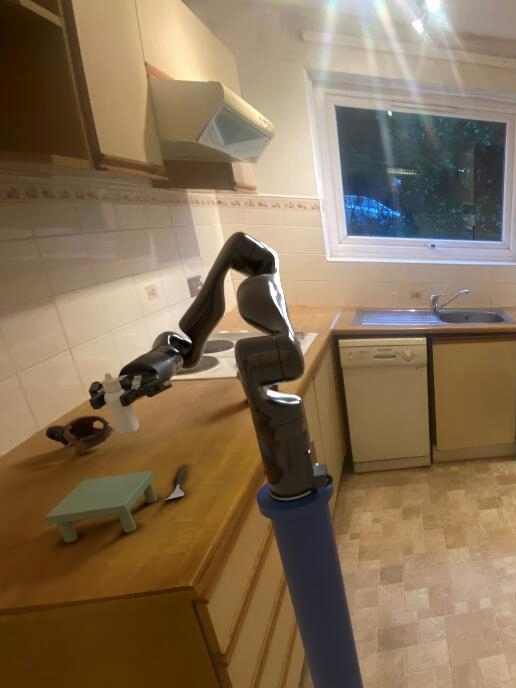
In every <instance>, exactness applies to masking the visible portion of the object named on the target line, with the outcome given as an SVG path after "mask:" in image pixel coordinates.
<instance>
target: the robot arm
mask: <svg viewBox="0 0 516 688" xmlns="http://www.w3.org/2000/svg"><path fill="white" fill-rule="evenodd" d="M230 270H232V271H235V273H236V272H237V273H238V274H240V275H242V276H244V277H246V278H244V280H242V282H240V284H239V285H238V286H237V290H236V302H237V309H238V313H239V315H240V317H241V319H242V320H243V321H244V322H245V323H246V324H247V325H248V326H250V327H251V328H253V329H254V330H256V331H258V332H260V333H261V334H264V335H259V336H249V337H243V338H239V339H237V340H236V342H235V344H234V358H235V363H236V367H237V370H239V373H240V376H241V379H242V382H243V385H244V389H245V392H246V395H247V397H246V400H247V399H248V400H247V403H248V407H249V410H250V416H251V420H252V425H253V429H254V433H255V436H256V441H257V445H258V449H259V453H260V456H261V460H262V464H263V468H264V470H263V475H264V477H266V480H267V481H266V482H267V483H268V485H269V490H270V495H271V497H272V499H274V500H276V501H279V502H292V501H297V500H300V499H303V498H305V497H307V496H309V495H311V494H315V493H318V488H319V487H325V488H326V487H327V486H329V485H330V484H331V483H332V482H333V483H334V477H333V475H331V474H329V472H328V467H327V464H319V462H318V458H317V453H316V447H315V442H314V439H311V435H310V430H309V423H308V419H307V414H306V408H305V403H304V400H303V399H302V397H300V396H298V395H297V394H293V393H289V392H288V393H287V392H281V391H279V392H276V391H273V390H270V389H268V388H266V387H264V386H270V385H276V384H278V385H281V384H287V383H292V382H295V381H298V380H301V378H303V376H304V374H305V369H306V364H305V358H304V353H303V350H302V347H301V345H300V342H299V340H298V336H297V334H296V332H295V329H294V327H293V325H292V321H291V317H290V313H289V308H288V303H287V300H286V296H285V293H284V290H283V286H282V283H281V278H280V265H279V257H278V255H277V252H276V251H274V249H272V248H271V247H270V246H268V245H267V244H265V243H263V242H261V241H260V240H258V239H257V238H255V237H253V236H251V235H249V234H247V233H246V232H244V231H242V230H241V231H236V232H234V233H233V234H231V235H230V236H229V237H228V238H227V240H226V241H225V242H224V244H223V245H222V247H221V249H220V251H219V253H218V255H217V257H216V258H215V260H214V262H213V264H212V266H211V268H210V270H209V272H208V273H207V276H206V277H205V280H204V281H203V284H202V286H201V288H200V289H199V291H198V294H197V295H196V297H195V298H194V300H193V301H192V303H191V304H190V306H189V307H188V308H187V309H186V311H185V312H184V313H183V315H182V316H181V318H180V319H179V322H178V328H179V329H180V331H181V332H182V333H183V334H184V335H185V336H187V337H188V338H187V337H185V336H183V335H182V334H180V333H178V332H176V331H172V330H165V331H163V332H161V333H159V334H158V335H157V337H156V338H155V339H154V340H153V342H152V345H151V349H150V350H149V351H147V352H146V353H143V354H140V355H138V356H137V357H136V358H135V359H133V360H131V361H130V362H129V363H127V364H126V365H124V366H123V367H121V369H120V371H119V373H118V377H116V378H117V379H118V380H119V383H120V385H121V389H123V390H125V391H126V392H125V393H124V394H122V395H121V396H120V397H119V399H120V402H121V404H122V406H123V407H126V406H129V405H130V404H133V403H135V402H136V401H137V400H141V399H143V398H144V397H146V398H154V397H156V396H157V395H159V394H161V393H163V392H165V391H167V390H169V389H171V388H173V384H172V380H171V379H172V378H173V376H174V375H175V374H176V373H178V372H179V371H180V370H181V369H184V370H190V369H193V368H195V367H197V366H198V365H199V364H200V362H201V361H202V359H203V357H204V353H205V350H206V346H207V342H208V340H209V338H210V336H211V335H212V333H213V332H214V330H215V329H216V328H217V326H218V325H219V324H220V323H221V321H222V320H223V318H224V316H225V313H226V295H225V294H226V293H225V280H226V277H227V275H228V272H229V271H230ZM244 389H243V390H244ZM245 392H244V393H245ZM105 393H106V392H105V390H104V387H103V385H102V382H101V381H99V380H97V381H93V382H91V384H90V386H89V388H88V394H89V396H90V398H89V399H88V402H89V403H90V407H91V408H92V409H93V410H100V409H102V408H103V407H104V406H107V405H106V403H105V400H104V395H105ZM246 395H245V396H246ZM327 480H328V481H327Z"/></svg>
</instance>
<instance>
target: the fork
mask: <svg viewBox="0 0 516 688" xmlns="http://www.w3.org/2000/svg"><path fill="white" fill-rule="evenodd" d="M184 477H185V463H182V464H181V466H180V468H179V471H178V473H177V475H176V487H175V489H174V491H172V493H171V494H169V496H168V497H167V498H164V499H163V501H168V500H172V499H176V498H180V497H183V496H184V495H185V492H184V491H182V489H180V485H181V484H182V482H183V480H184Z"/></svg>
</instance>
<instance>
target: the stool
mask: <svg viewBox="0 0 516 688" xmlns="http://www.w3.org/2000/svg"><path fill="white" fill-rule="evenodd" d="M155 478H156V476H155V474H154V471H153V470H147V471H138V472H132V473H126V474H125V473H124V474H117V475H109V476H102V477H95V478H88V479H87V478H86V479H83V480H82V481H81V482H80V483H79V484H78V485H77V486H75V487H74V488H73V489H72V490H71V491H70V492H69V493H68V494H67V495H66V496H65V497H64V498H63V499H62V500H61V501H60V502H59V503H57V505H56V506H54V507H53V508H52V509H51V510H50V511H49V513H48V514H46V515H45V516H44V519H45V521H46V523H47V525H48V526H49V525H50V526H52V525H56V526H57V528H58V531H59V532H60V535H61V537H62V539H63V541H64V542H65V543H66V544H67V543H68V544H69V543H72V542H74V541H76V540H77V539H78V538H79V537H78V535H77V533H76V531H75V528H74V526H73V524H72V522H77V521H83V520H89V519H96V518H102V517H109V516H118V519H119V521H120V523H121V526H122V528H123V531H124V533H125V534H129V533H132V532H134V531H136V530H137V525H136V522H135V520H134V518H133V515H132V512H131V509H132V507H134V505H135V503H136V502H137V501H138V500H139V498H140V497H141V496H142V495H143V496H144V498H145V500H146V503H147V504H152V503H156V501H158V497H157V494H156V491H155V488H154V486H153V483H152V482H153V481H154V480H155Z"/></svg>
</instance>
